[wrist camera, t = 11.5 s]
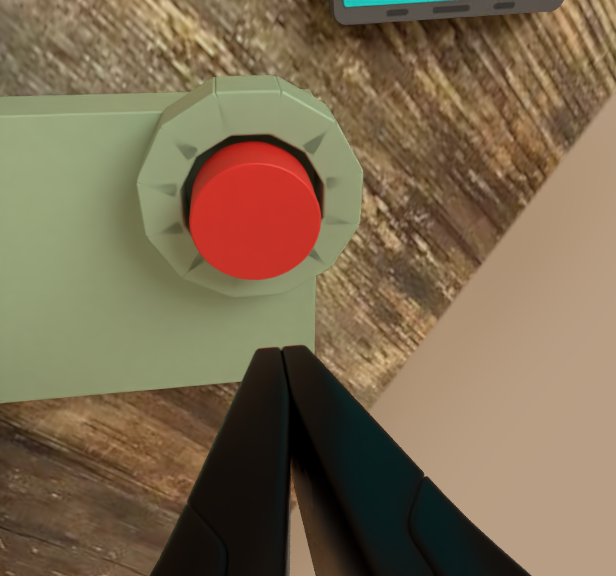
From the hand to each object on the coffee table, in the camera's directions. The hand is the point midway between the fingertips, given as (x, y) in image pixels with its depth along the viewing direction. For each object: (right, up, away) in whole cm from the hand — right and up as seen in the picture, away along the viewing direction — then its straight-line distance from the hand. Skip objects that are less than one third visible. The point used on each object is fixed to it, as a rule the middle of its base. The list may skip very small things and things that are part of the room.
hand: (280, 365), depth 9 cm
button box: (-7, +3, +11) cm, 13 cm away
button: (-1, +4, +7) cm, 8 cm away
